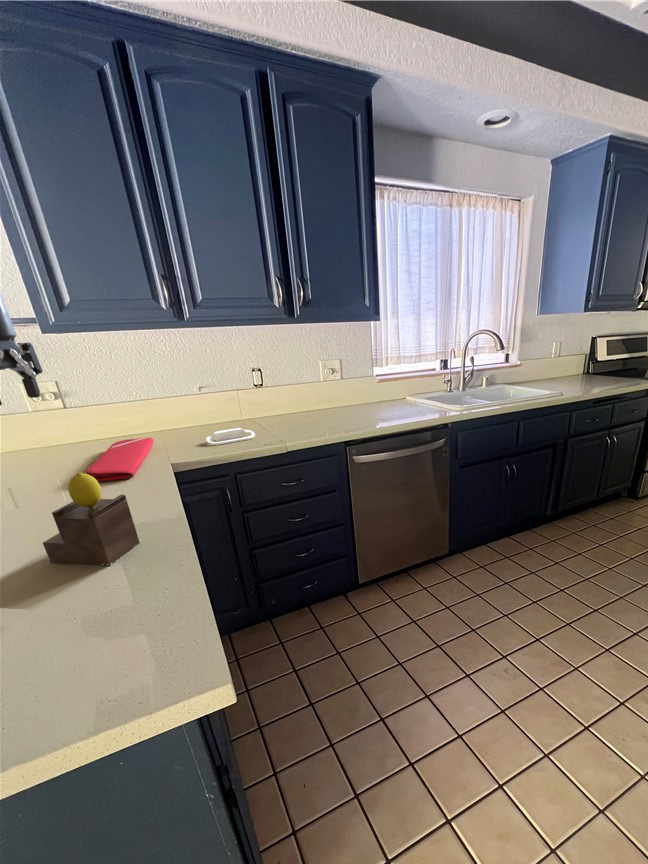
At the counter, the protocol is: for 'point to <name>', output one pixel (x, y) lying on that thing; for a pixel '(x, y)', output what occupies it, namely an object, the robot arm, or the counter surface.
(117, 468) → the folded red towel
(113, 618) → the counter surface
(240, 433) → the white butter dish
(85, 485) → the lemon
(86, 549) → the wooden step block
